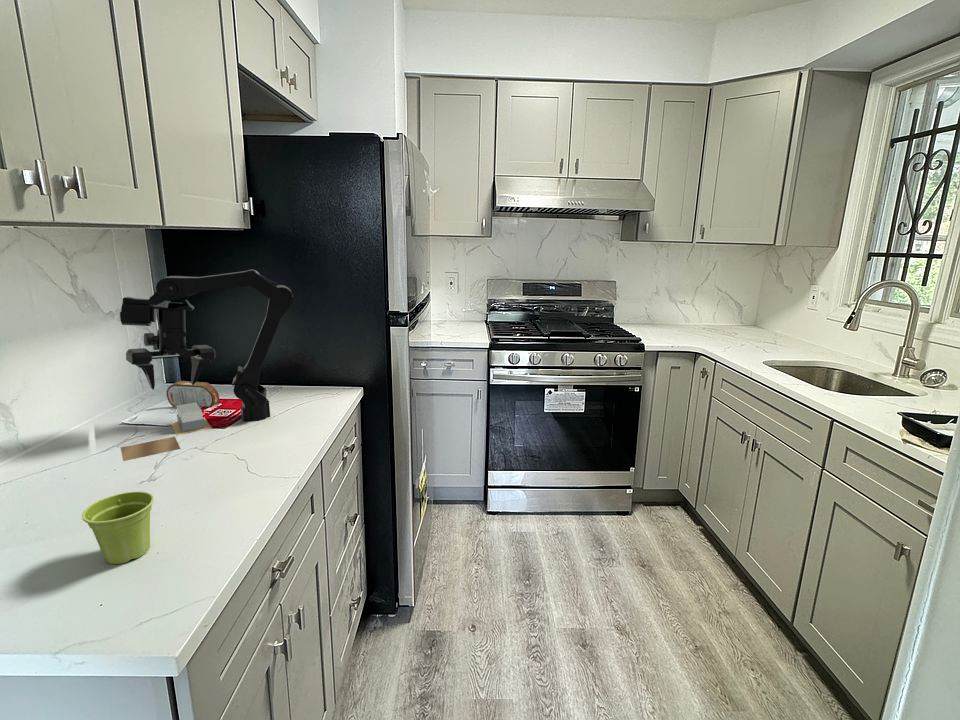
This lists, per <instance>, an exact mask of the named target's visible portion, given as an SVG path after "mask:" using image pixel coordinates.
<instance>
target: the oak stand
mask: <svg viewBox="0 0 960 720" xmlns="http://www.w3.org/2000/svg"><path fill="white" fill-rule="evenodd" d="M202 417H203V416H202ZM203 419H204V425H205V429H200V430H195V431H190V432H185V433H183V432H182V430H181V428H180V426H179V425H178V421H177V422H172V423H170V425H171V428H172V429H173V431H174V433H175V435H176V436H181V435H187V434H191V433H196V432H201V431H207V430H211V429H213V427H212V426H211V425H210V423H209V422H208V420H207V419H206V418H205V416H204V417H203Z"/></svg>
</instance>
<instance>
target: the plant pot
mask: <svg viewBox="0 0 960 720" xmlns="http://www.w3.org/2000/svg"><path fill="white" fill-rule="evenodd" d="M154 501H155V497H154V495H153V493H150V492H148V491H144V490H143V491H139V490H138V491H134V490H133V491H125V492H121V493H116V494H113V495H109V496H107V497H104V498H102V499H99V500H98V501H95V502H94V503H92V504H91V505H89V506H88V507H86V508H85V509H84V510H83V512H82V513H81V519H82V521H83V522H85V523H87V525H88V527H89V528H90V529H91V531H92V532H93V535H94V538H95V540H96V542H97V544H98V546H99V547H98V548H99V550H100V552H101V555H102V557H103V558H104V559H103V560H104V561H105V562H106V563H107V564H110V565H118V564H125V563H128V562H129V561H131V560H132V559H138V558H141V557H142V556H144V555H145V554H146V553H147V552H148V551H149V549H150V548H151V511H152V506H153V503H154Z"/></svg>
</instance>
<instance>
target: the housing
mask: <svg viewBox="0 0 960 720" xmlns="http://www.w3.org/2000/svg"><path fill="white" fill-rule="evenodd" d="M176 412H177V414H176V419H177V422H178V425H179V426H180V428H181V430H182V432H183V433H185V432H190V431H195V430H200V429H205V425H204V419H203V409H201V406H198V404H197V403H190V404H184V405H178V406H176Z"/></svg>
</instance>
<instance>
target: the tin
mask: <svg viewBox="0 0 960 720" xmlns="http://www.w3.org/2000/svg"><path fill="white" fill-rule="evenodd" d="M166 398H167V400H168V403H169V404H170V405H171V406H172V407H177V406H178V405H184V404H190V403H197V404H198V406H199V407H209V408H212V407H215V406H216V405H218V404H219V401H220V394H219V392H218V390H217V389H216V387H215V386H213V385H212V384H210V383H209V382H206V381H205V382H203V381H201V382H200V381H196V383H195V385H192V384H191V381H188V380H178V381H175V382H174V383H173V384H171V385H169V386H168V387H167V389H166Z"/></svg>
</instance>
